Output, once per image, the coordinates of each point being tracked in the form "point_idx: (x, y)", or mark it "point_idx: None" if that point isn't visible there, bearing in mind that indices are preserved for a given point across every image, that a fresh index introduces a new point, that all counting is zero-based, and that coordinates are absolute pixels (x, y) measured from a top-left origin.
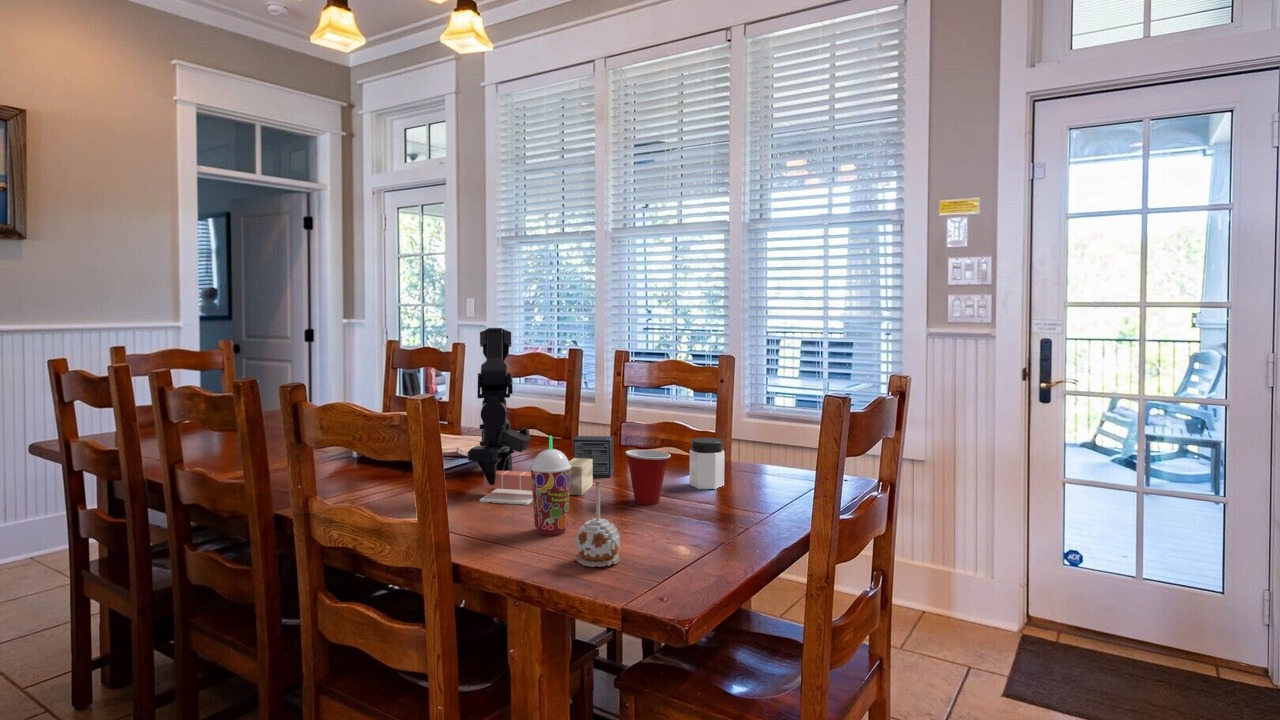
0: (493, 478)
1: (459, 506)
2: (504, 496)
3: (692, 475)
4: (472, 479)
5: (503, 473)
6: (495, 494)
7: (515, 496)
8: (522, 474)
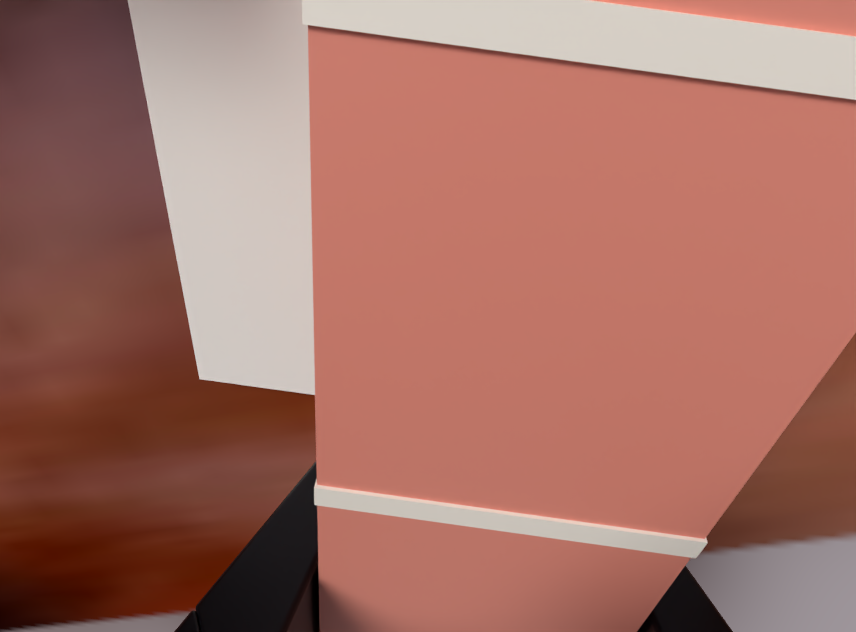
0: (685, 573)
1: (850, 530)
2: None
3: None
4: (9, 564)
5: (595, 541)
6: None
7: None
8: (838, 35)
